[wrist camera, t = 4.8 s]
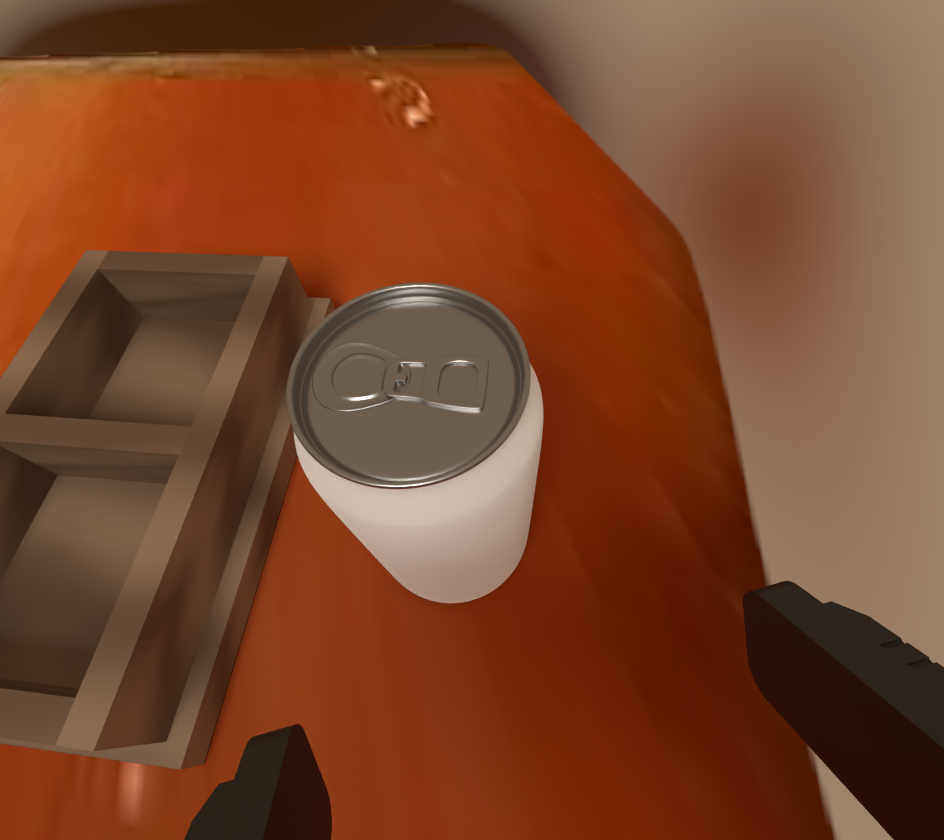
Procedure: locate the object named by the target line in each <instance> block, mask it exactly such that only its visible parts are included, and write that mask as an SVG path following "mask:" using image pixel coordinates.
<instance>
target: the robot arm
mask: <svg viewBox="0 0 944 840" xmlns="http://www.w3.org/2000/svg"><path fill="white" fill-rule="evenodd" d="M743 608H744V619H745V631H746V642H747V653H748V662H749V667H750V670H751V673H752V676H753V678H754V680H755V682H756V684H757V686H758V688H759V689H760V691H761V693H762V694H763V695H764V697H765V698H766V699H767V701H768V702H769V703H770V704H771V705H772V706H773V707H774V708H775V709H776V711H777V712H778V713H779V714H780V715H781V716H782V717H783V718H784V719H785V720H786V722H787V723H788V724H789V725H790V726H791V727H792V728H793V729H794V730H795V731H796V733H797V734H798V735H799V736H800V737H801V738H802V739H803V740H804V741H805V742H806V744H807V745H808V746H809V747H810V748H811V749H812V750H813V751H814V752H815V753H816V755H817V756H818V757H819V758H820V759H821V760H822V761H823V762H824V763H825V764H826V766H827V767H828V768H829V769H830V770H831V771H832V772H833V773H834V774H835V775H836V777H837V778H838V779H839V780H840V781H841V782H842V783H843V784H844V785H845V786H846V788H847V789H848V790H849V791H850V792H851V793H852V794H853V795H854V796H855V798H856V799H857V800H858V801H859V802H860V803H861V804H862V805H863V806H864V807H865V809H866V810H867V811H868V812H869V813H870V814H871V815H872V816H873V817H874V818H875V819H876V821H878V823H879V824H880V825H881V826H882V827H883V828H884V829H885V831H886V832H887V833H888V834H889V835H890V836H891V837H892V838H893V839H894V840H944V667H942V666H941V665H940V664H938V663H937V662H936V663H932V662H931V661H930V659H929V657H928V656H926V655H925V654H923V653H922V652H920V651H919V650H918V649H916V648H914V647H913V646H912V645H910V644H909V643H906V644H905V643H903V642H902V640H901V638H900V637H898V636H897V635H895V634H894V633H893V632H891V631H890V630H888V629H887V628H885V627H884V626H882V625H881V624H879V623H878V622H876V621H875V620H873V619H872V618H871V617H869V616H867V615H864V614H862V613H859V612H856V611H854V610H852V609H849V608H847V607H844V606H842V605H839V604H837V603H834V602H828V603H824V604H823V603H821V602H820V601H819V600H817V599H816V598H814V597H813V596H812V595H810V594H809V593H808V592H806V591H805V590H803V589H802V588H801V587H799V586H798V585H796V584H795V583H793V582H790V581H784V582H780V583H777V584H773V585H770V586H766V587H763V588H759V589H756V590H752V591H749V592H747V593H746V594H745V595H744V598H743ZM331 831H332V817H331V806H330V800H329V795H328V791H327V788H326V786H325V783H324V781H323V778H322V775H321V773H320V770H319V768H318V765H317V762H316V760H315V757H314V755H313V752H312V750H311V747H310V744H309V742H308V739H307V737H306V734H305V732H304V730H303V728H302V727H301V726H300V725H299V724H295V725H292V726H289V727H285V728H282V729H278V730H275V731H271V732H268V733H264V734H261V735H257V736H254V737H252V738H251V739H250V740H249V741H248V743H247V745H246V747H245V750H244V753H243V756H242V758H241V761H240V764H239V767H238V770H237V773H236V775H235V778H234V780H231V781H228V782H224V783H221V784H218V786H217V787H216V789H215V790H214V791H213V793H212V794H211V796H210V797H209V798H208V800H207V801H206V803H205V804H204V805H203V807H202V808H201V810H200V811H199V812H198V814H197V815H196V817H195V818H194V819H193V821H192V823H191V825H190V828H189V830H188V833H187V835H186V838H185V840H331Z"/></svg>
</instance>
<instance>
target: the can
mask: <svg viewBox="0 0 944 840" xmlns="http://www.w3.org/2000/svg"><path fill="white" fill-rule="evenodd" d="M286 403H287V411H288V415H289V419H290V422H291V425H292V428H293V430H294V440H295V447H296V451H297V455H298V458H299V461H300V463H301V466H302V468H303V470H304V472H305V474H306V476H307V478H308V479H309V481H310V483H311V484H312V486H313V487H314V489H315V490H316V491H317V493H318V494H319V495H320V496H321V498H322V499H323V500H324V501H325V502H326V504H327V505H328V506H329V507H330V508H331V509H332V510H333V512H334V513H335V514H336V515H337V516H338V517H339V518H340V519H341V521H342V522H343V523H344V524H345V525H346V526H347V527H348V528H349V529H350V530H351V532H352V533H353V534H354V535H355V536H356V537H357V538H358V539H359V540H360V541H361V542H362V544H363V545H364V546H365V547H366V548H367V549H368V550H369V551H370V552H371V553H372V554H373V555H374V557H375V558H376V559H377V560H378V561H379V562H380V563H381V564H382V565H383V566H384V567H385V568H386V569H387V570H388V572H389V573H390V574H391V575H392V576H393V577H394V578H395V579H396V580H397V581H398V582H399V583H401V584H402V585H403V586H404V587H405V588H407V589H408V590H409V591H411V592H412V593H414V594H416V595H418V596H420V597H422V598H425V599H428V600H431V601H435V602H441V603H461V602H467V601H471V600H474V599H477V598H480V597H482V596H484V595H486V594H488V593H490V592H492V591H493V590H495V589H496V588H497V587H499V586H500V585H501V584H502V583H503V582H504V581H506V580H507V578H508V577H509V576H510V575H511V574H512V572H513V571H514V570H515V568H516V567H517V565H518V563H519V561H520V559H521V557H522V555H523V552H524V550H525V546H526V542H527V538H528V532H529V526H530V520H531V513H532V507H533V500H534V493H535V486H536V479H537V472H538V464H539V457H540V450H541V441H542V432H543V401H542V394H541V389H540V385H539V382H538V379H537V376H536V374H535V372H534V370H533V368H532V366H531V364H530V362H529V357H528V353H527V350H526V347H525V344H524V342H523V340H522V338H521V336H520V334H519V332H518V331H517V329H516V328H515V326H514V325H513V323H512V322H511V321H510V320H509V319H508V318H507V317H506V315H505V314H504V313H502V312H501V311H500V310H499V309H498V308H497V307H495V306H494V305H493V304H491V303H490V302H488V301H487V300H485V299H483V298H482V297H480V296H478V295H476V294H473V293H471V292H469V291H466V290H463V289H460V288H457V287H453V286H448V285H443V284H435V283H405V284H398V285H392V286H387V287H383V288H379V289H376V290H373V291H370V292H367V293H365V294H362V295H360V296H358V297H356V298H354V299H352V300H350V301H348V302H346V303H345V304H343V305H341V306H340V307H338V308H337V309H335V310H334V311H333V312H331V313H330V314H329V315H328V316H326V317H325V318H324V319H323V320H322V321H321V322H320V323H319V324H318V325H317V326H316V327H315V328H314V329H313V330H312V331H311V332H310V334H309V335H308V336H307V338H306V339H305V340H304V342H303V343H302V345H301V347H300V348H299V350H298V352H297V354H296V356H295V358H294V360H293V363H292V365H291V369H290V372H289V376H288V381H287V389H286Z"/></svg>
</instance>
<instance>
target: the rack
mask: <svg viewBox="0 0 944 840" xmlns="http://www.w3.org/2000/svg"><path fill="white" fill-rule="evenodd" d="M334 310H335V307H334V305H333V303H332V301H331V298H313V297H307V295H306V293H305V291H304V289H303V287H302V285H301V283H300V280H299V278H298V276H297V274H296V272H295V270H294V268H293V266H292V264H291V262H290V260H289V258H288V257H275V256H244V255H214V254H183V253H153V252H122V251H92V250H86V251H85V253H84V254H83V256H82V257H81V259H80V260H79V262H78V263H77V265H76V266H75V268H74V269H73V271H72V272H71V274H70V275H69V277H68V278H67V280H66V281H65V283H64V284H63V286H62V287H61V289H60V290H59V292H58V293H57V295H56V296H55V298H54V299H53V301H52V302H51V304H50V305H49V307H48V308H47V310H46V311H45V313H44V314H43V316H42V317H41V319H40V320H39V322H38V323H37V325H36V326H35V328H34V329H33V331H32V332H31V334H30V335H29V336H28V338H27V339H26V341H25V342H24V344H23V345H22V347H21V348H20V350H19V351H18V353H17V354H16V356H15V357H14V359H13V360H12V362H11V363H10V365H9V366H8V368H7V369H6V371H5V372H4V374H3V375H2V377H1V378H0V743H1V744H8V745H15V746H22V747H29V748H36V749H43V750H49V751H56V752H63V753H70V754H77V755H84V756H91V757H98V758H105V759H112V760H119V761H126V762H132V763H139V764H146V765H153V766H160V767H167V768H174V769H185V768H189V767H194V766H198V765H203V764H204V762H205V758H206V755H207V752H208V748H209V745H210V742H211V738H212V735H213V732H214V729H215V725H216V722H217V719H218V715H219V712H220V709H221V705H222V702H223V699H224V695H225V692H226V689H227V685H228V682H229V679H230V675H231V672H232V669H233V665H234V662H235V659H236V656H237V652H238V649H239V646H240V642H241V639H242V636H243V632H244V629H245V626H246V622H247V619H248V616H249V612H250V609H251V606H252V602H253V599H254V596H255V592H256V589H257V586H258V583H259V579H260V576H261V573H262V569H263V566H264V563H265V559H266V556H267V553H268V549H269V546H270V543H271V539H272V536H273V533H274V529H275V526H276V523H277V519H278V516H279V513H280V509H281V506H282V503H283V500H284V496H285V493H286V490H287V486H288V483H289V480H290V476H291V473H292V470H293V466H294V463H295V460H296V456H297V451H296V447H295V440H294V430H293V428H292V425H291V422H290V419H289V415H288V411H287V403H286V389H287V381H288V376H289V372H290V369H291V365H292V363H293V360H294V358H295V356H296V354H297V352H298V350H299V348H300V347H301V345H302V343H303V342H304V340H305V339H306V338H307V336H308V335H309V334H310V332H311V331H312V330H313V329H314V328H315V327H316V326H317V325H318V324H319V323H320V322H321V321H322V320H323V319H324V318H325V317H326V316H328V315H329V314H330V313H331V312H333V311H334Z"/></svg>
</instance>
